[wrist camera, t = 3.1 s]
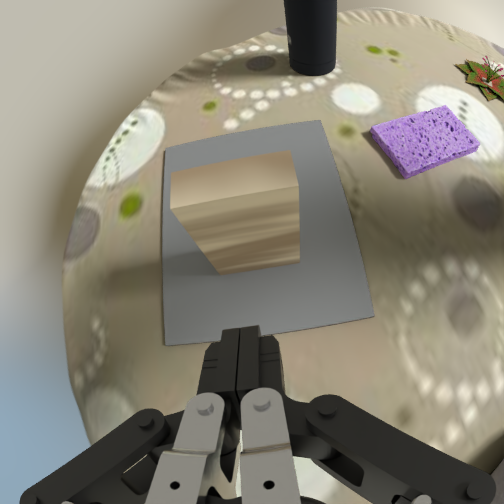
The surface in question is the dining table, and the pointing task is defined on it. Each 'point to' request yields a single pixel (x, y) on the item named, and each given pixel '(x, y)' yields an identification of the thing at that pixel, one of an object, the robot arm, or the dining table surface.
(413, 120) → the sponges
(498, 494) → the small grey backpack
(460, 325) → the dining table surface
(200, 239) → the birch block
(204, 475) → the robot arm
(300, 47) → the black water bottle
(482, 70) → the green leafy rosette
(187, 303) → the rubber mat
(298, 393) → the dining table surface
